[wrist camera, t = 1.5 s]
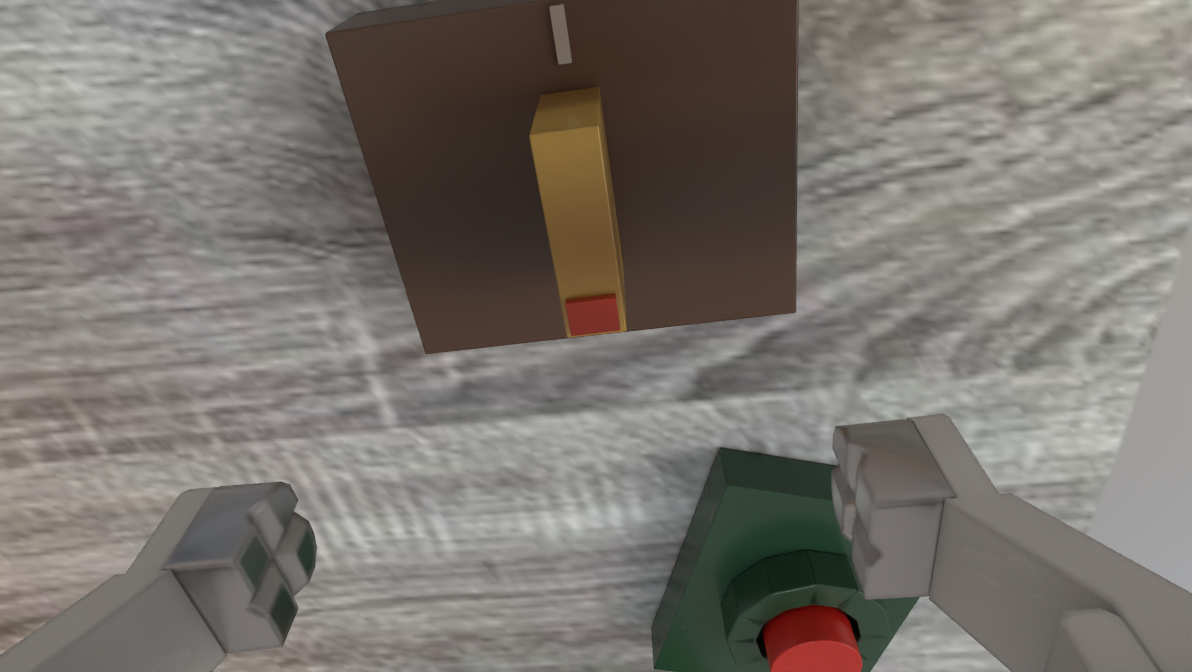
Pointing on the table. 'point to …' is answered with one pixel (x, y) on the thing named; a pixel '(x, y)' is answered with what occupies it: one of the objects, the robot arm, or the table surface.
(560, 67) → the lock plate
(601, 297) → the lock knob
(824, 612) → the button
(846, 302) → the table surface
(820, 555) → the button box
